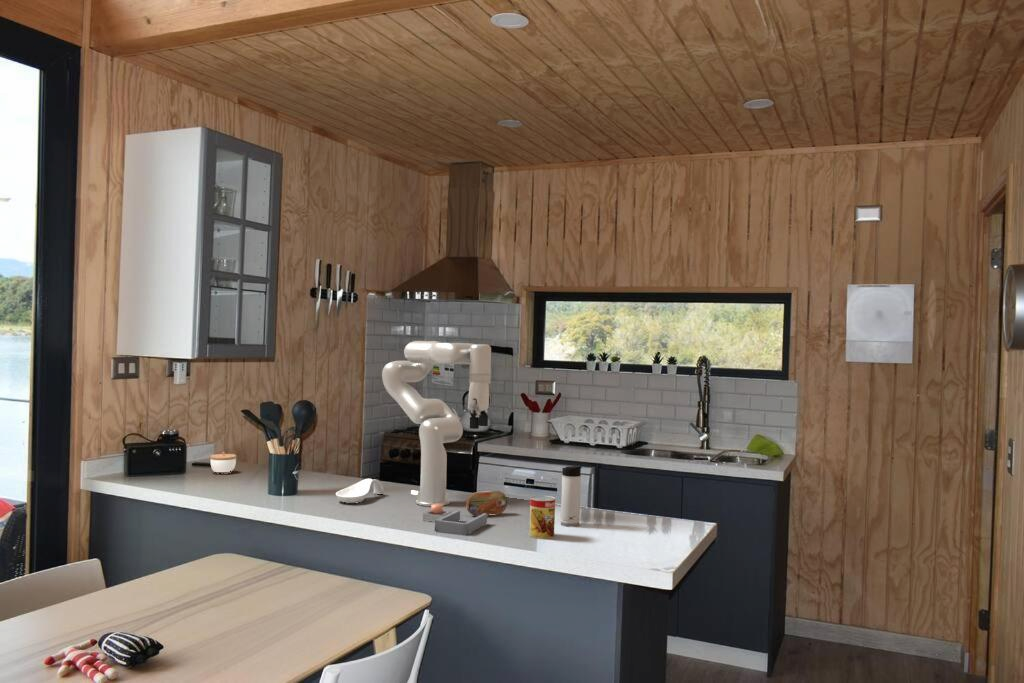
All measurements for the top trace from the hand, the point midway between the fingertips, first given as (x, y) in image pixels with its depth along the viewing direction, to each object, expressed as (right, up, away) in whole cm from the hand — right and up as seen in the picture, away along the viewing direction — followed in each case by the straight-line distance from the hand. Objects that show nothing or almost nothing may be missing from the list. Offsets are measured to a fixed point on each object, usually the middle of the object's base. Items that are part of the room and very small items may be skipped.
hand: (478, 427), depth 286 cm
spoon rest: (-45, -30, +18) cm, 57 cm away
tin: (+3, -31, -2) cm, 31 cm away
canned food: (+21, -31, -30) cm, 49 cm away
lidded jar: (-114, -27, +66) cm, 134 cm away
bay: (-5, -30, -22) cm, 38 cm away
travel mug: (+31, -32, -14) cm, 47 cm away
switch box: (-14, -30, -12) cm, 35 cm away
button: (-14, -28, -13) cm, 33 cm away
